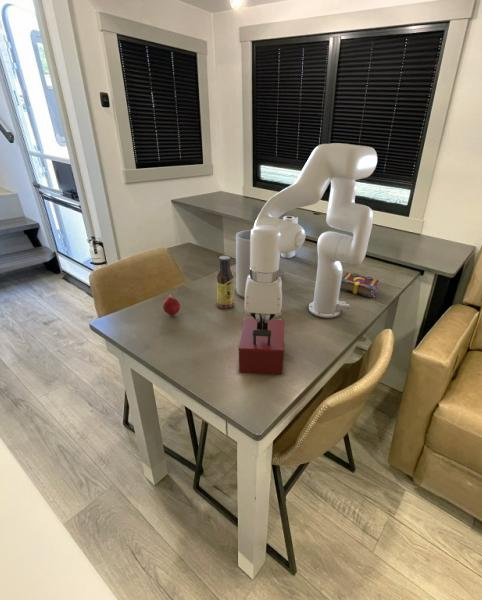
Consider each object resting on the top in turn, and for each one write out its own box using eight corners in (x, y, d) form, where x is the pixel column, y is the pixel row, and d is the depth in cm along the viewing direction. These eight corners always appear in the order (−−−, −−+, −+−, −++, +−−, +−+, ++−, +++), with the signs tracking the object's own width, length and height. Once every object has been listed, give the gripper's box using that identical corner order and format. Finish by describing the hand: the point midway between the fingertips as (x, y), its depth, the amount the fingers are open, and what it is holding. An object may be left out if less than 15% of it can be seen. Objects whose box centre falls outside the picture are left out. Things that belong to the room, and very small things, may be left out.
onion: (184, 313, 122) (182, 294, 118) (174, 320, 117) (172, 301, 114) (170, 309, 124) (168, 290, 120) (160, 317, 119) (158, 297, 115)
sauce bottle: (230, 310, 126) (229, 262, 116) (215, 307, 127) (212, 259, 117) (236, 302, 132) (235, 255, 122) (221, 300, 132) (219, 253, 123)
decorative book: (345, 280, 156) (347, 270, 154) (379, 288, 151) (381, 279, 148) (338, 289, 147) (339, 279, 145) (373, 299, 142) (376, 288, 139)
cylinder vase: (241, 301, 133) (241, 241, 121) (233, 287, 143) (232, 231, 130) (270, 296, 137) (272, 239, 125) (260, 283, 147) (261, 229, 135)
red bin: (282, 374, 97) (283, 350, 92) (239, 372, 96) (238, 348, 92) (282, 344, 109) (283, 322, 105) (244, 342, 109) (244, 320, 105)
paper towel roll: (280, 257, 176) (282, 217, 166) (282, 253, 181) (284, 215, 171) (293, 259, 175) (296, 219, 165) (295, 255, 180) (298, 216, 170)
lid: (283, 352, 92) (285, 336, 89) (238, 350, 91) (238, 334, 88) (283, 321, 105) (284, 306, 102) (244, 320, 105) (244, 304, 102)
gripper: (292, 269, 90) (287, 325, 98) (237, 266, 89) (237, 323, 98) (293, 281, 83) (288, 340, 92) (233, 278, 82) (234, 338, 91)
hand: (262, 331), depth 95 cm, fingers closed
